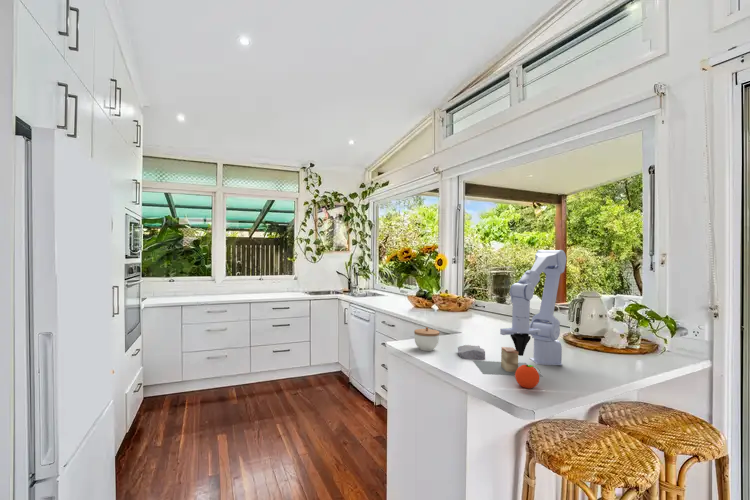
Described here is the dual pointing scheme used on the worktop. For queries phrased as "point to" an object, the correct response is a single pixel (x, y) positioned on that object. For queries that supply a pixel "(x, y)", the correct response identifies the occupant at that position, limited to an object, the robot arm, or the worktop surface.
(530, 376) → the clementine
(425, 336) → the lidded jar
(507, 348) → the maple block
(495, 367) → the slate mat
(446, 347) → the worktop surface
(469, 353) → the stone block
